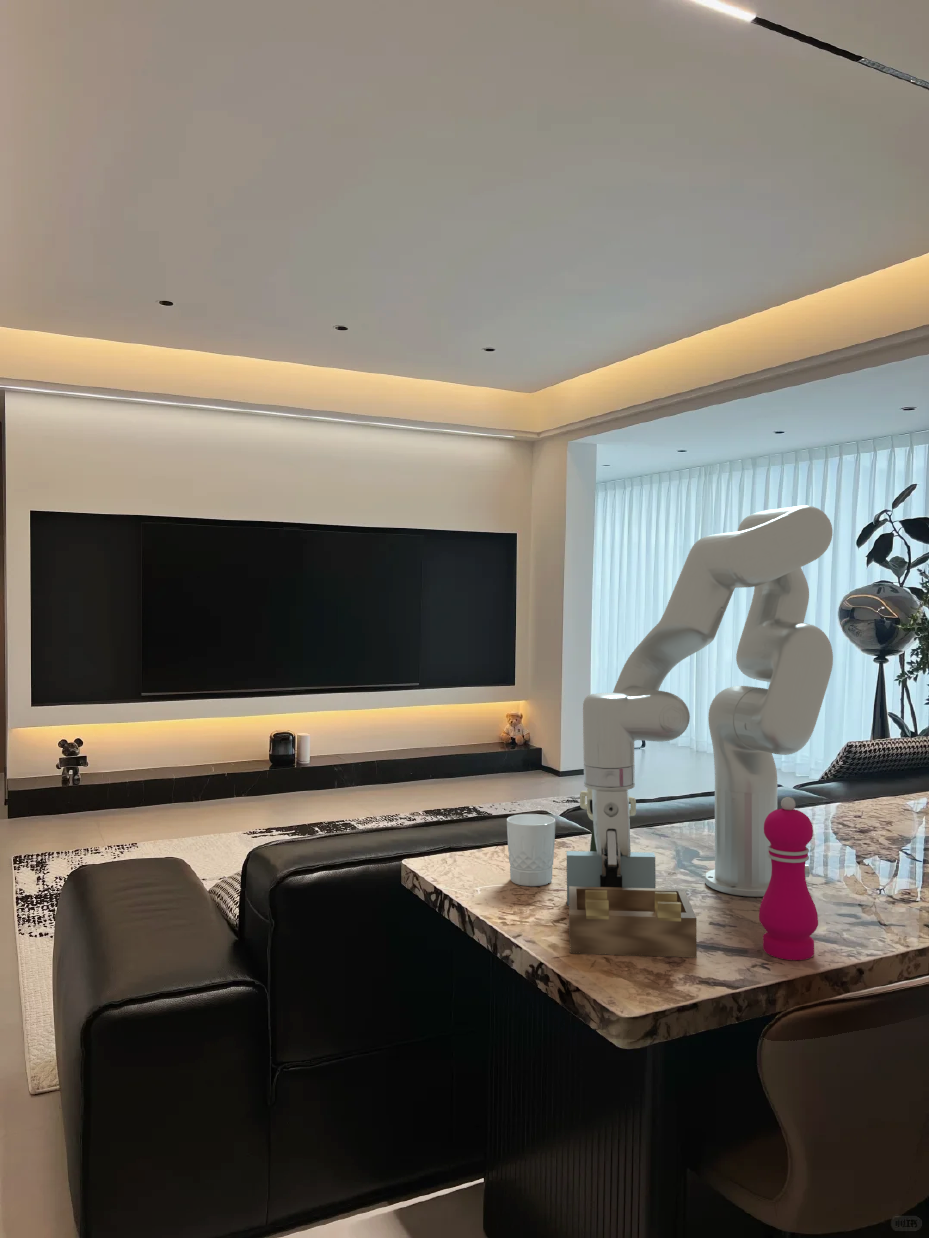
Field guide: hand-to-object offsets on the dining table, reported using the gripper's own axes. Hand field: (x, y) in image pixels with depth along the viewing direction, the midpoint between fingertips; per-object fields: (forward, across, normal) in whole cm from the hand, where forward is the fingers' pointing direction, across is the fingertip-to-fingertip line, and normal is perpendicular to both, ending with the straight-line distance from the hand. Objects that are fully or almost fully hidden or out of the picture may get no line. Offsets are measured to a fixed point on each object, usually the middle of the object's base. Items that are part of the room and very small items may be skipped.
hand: (610, 897), depth 139 cm
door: (+1, 0, 0) cm, 1 cm away
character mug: (+1, +26, -1) cm, 26 cm away
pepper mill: (+1, -17, -22) cm, 28 cm away
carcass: (+1, -14, -2) cm, 14 cm away
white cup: (+1, +11, +12) cm, 16 cm away
